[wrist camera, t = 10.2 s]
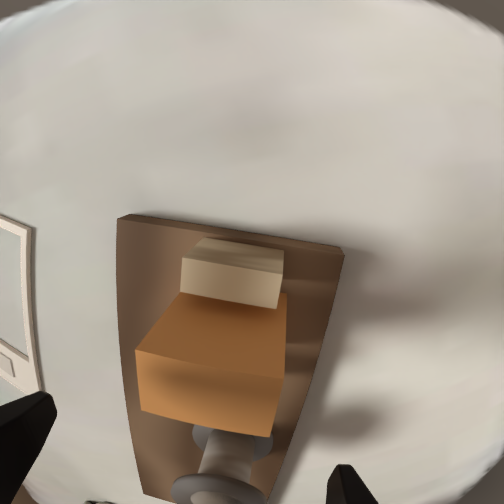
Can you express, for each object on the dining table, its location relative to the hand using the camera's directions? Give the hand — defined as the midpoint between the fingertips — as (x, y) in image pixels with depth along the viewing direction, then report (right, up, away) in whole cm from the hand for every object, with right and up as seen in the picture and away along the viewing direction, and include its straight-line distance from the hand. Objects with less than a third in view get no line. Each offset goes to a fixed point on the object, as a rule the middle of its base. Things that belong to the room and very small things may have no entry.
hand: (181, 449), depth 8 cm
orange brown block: (+1, +2, +9) cm, 10 cm away
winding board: (-1, -6, +13) cm, 15 cm away
